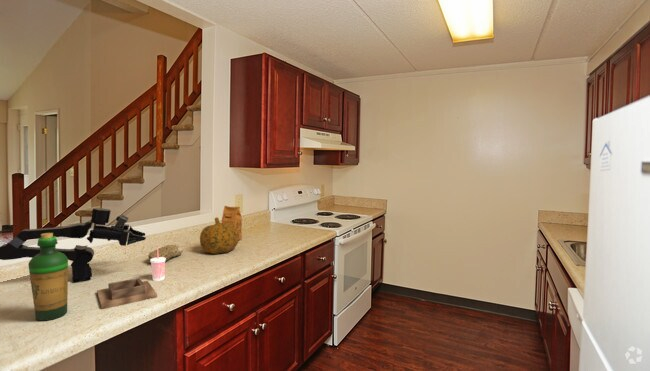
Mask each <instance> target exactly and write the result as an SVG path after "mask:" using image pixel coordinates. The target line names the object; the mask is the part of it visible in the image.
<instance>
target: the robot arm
mask: <svg viewBox="0 0 650 371" xmlns="http://www.w3.org/2000/svg"><path fill="white" fill-rule="evenodd" d="M111 212H112V211H111V209H108V208H93V209H92V210H91V218H90V220H88V221H86V222H78V223H74V224H73V223H72V224H70V225H65V226H60V227H59V226H58V227H56V226H55V227H45V228H32V229H30V228H25V229H23V230H21V231H20V232H19V233H18V234H17V235H16V236H14V238H13V239H11V240H10V241H9V242H6V243H7V244H5V243H4V244H2V245H0V260H1V261H11V260H17V259H18V260H19V259H23V258H31V259H32V258H33V257H34V256H36V255H37V254H39V253H41V252H40V247H39V246H28V245H26V244H25V243H26V241H28V240H38V238H41V234H44V233H53V236H56V238H68V239H83V238H85V237H86V236H87V235H89V236H87V237H86V240H87V241H89V243H90V244H92V243H93V241H94V239H96V240H97V239H99V240H107V241H108V242H110V241H118V244H119V245H120V246H121V247H122V246H124V247H126V246H129V245H131V244H135V243H139V242H144V241H146V239H147V237H145V236H146V233H145V232H143V231H139V230H136V229H134V228H133V227H132V226H131V225H130V224H127V222H128V220H129V217H128V216H125V215H123V214H121V215H117V217H116V218H115V220H116V223H115V225H114V224H113V225H110V226H107V225H106V224H108V223H109V222H110V216H111ZM105 225H106V226H105ZM92 226H93V229H91V228H92ZM88 233H89V234H88ZM55 251H59V252H61V253H63V254H65V255H66V256H67V258H68V261H71V264H70V267H71V273H72V274H71V276H72V278H71V282H72V283H80V282H86V281H90V280H92V277H93V273H92V271H93V270H92V266H91V265H90V262H92V260H93V258H94V257H95V251H94V249H93V248H92V247H89V246H88V245H79V244H78V245H77V244H76V245H75V246H74V248H57V247H56V249H55Z"/></svg>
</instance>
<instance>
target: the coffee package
mask: <svg viewBox="0 0 650 371" xmlns="http://www.w3.org/2000/svg"><path fill="white" fill-rule="evenodd" d="M240 209H241V207H240V206H227V205H224V208H223V212H222V215H221V216H222V217H221V223H228V224H231V225H233V226H234V227H235V228H236V229H237V231H238V233H239V241H240V240H242V239H243V233H242V232H243V231H242V230H243V228H242V221H243V217H242V213H241V211H240Z"/></svg>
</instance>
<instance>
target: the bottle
mask: <svg viewBox="0 0 650 371" xmlns="http://www.w3.org/2000/svg"><path fill="white" fill-rule="evenodd" d="M57 244H59V243H58V240H57V237H56V236H53V233H44V234H41V238H38V239H37V244H36V245H37V246H36V247H40V252H41V253H39V254H37V255H36V256H34V257H33V258H31V259H30V260H29V262H28V264H27V265H28V266H27V267H28V274H29V277H30V278H29V279H30V285H31V286H30V287H31V291H32V292H31V293H32V300H33V307H34V315H35V320H38V321H51V320H52V321H53V320H54V319H55V320H56V319H58V318H61V317H63V316H65V315H66V313H68V294H69V293H68V290H69V289H68V285H69V284H68V283H69V282H68V280H69V279H68V278H69V260H68V258H67V256H66V255H65V254H63V253H61V252H59V251H55V249H56V248H57V247H56V245H57Z"/></svg>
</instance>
